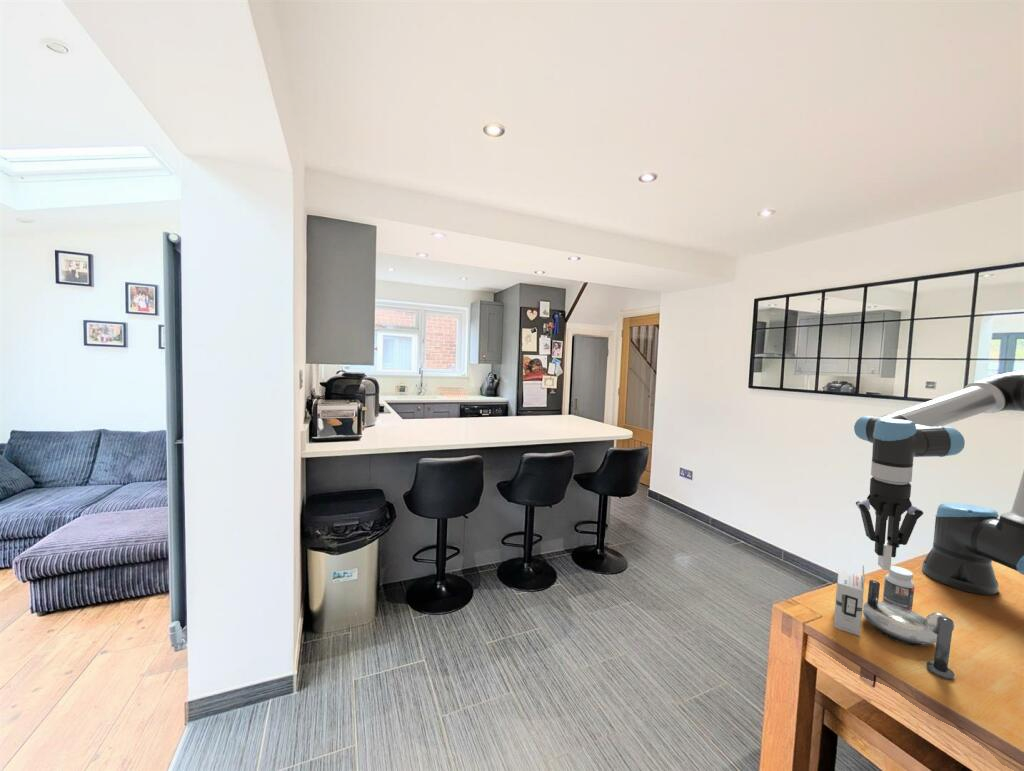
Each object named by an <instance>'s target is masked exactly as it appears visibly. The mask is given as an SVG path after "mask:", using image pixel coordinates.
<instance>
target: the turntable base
mask: <svg viewBox="0 0 1024 771" xmlns="http://www.w3.org/2000/svg"><path fill="white" fill-rule="evenodd" d="M872 625H873V624H872ZM873 627H874V628H875V629H876V631H878V632H879V633H880V634H883V635H884V636H886V637H887V638H888V639H889V638H890V639H892V640H893V641H895V642H898V643H901V644H904V645H909V646H915V647H916V646H918V647H919V646H923V645H924V644H920V643H914V642H910V641H907V640H903V639H900V638H898V637H895V636H893V635H891V634H888V633H886V632H884V631H882V630H881V629H879V628H877V627H876V626H874V625H873Z"/></svg>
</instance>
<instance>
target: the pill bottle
mask: <svg viewBox="0 0 1024 771" xmlns="http://www.w3.org/2000/svg"><path fill="white" fill-rule="evenodd" d="M887 572H888V573H887V574H885V576H884V582H883V584H884V585H883V593H882V602H885V603H890V604H893V605H897V606H900V607H903V608H905V609H908V610H910V611H912V609H913V604H914V595H915V583H914V581H913V578H914V574H913V572H912V571H911V570H909V569H907V568H904V567H902V566H896V565H891V570H887Z"/></svg>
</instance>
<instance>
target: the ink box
mask: <svg viewBox="0 0 1024 771" xmlns="http://www.w3.org/2000/svg"><path fill="white" fill-rule="evenodd" d="M837 572H838V573H837V579H836V580H837V582H836V591H835V592H836V594H835V604H834V605H835V607H834V624H833V625H834V628H835V629H838V630H841V631H844V632H847V633H850V634H852V635H856V636H859V637H860V636H861V627H862V624H861V623H862V616H863V615H862V614H863V605H864V603H863V602H864V592H865V580H866V579H865V566H864V565H862V572H861V573H862V575H860V574H858V573H853V572H850V571H847V570H843V569H838V571H837Z"/></svg>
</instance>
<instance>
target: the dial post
mask: <svg viewBox="0 0 1024 771" xmlns="http://www.w3.org/2000/svg"><path fill="white" fill-rule="evenodd" d="M925 619H926V620H925V623H926V626H927V627H928V628H929V629H930V630H931V631H933V632H934V633H935V634H937V640H936V642H935V650H934V658H933V659H934V660H933V661H932V660H931V661H927V662H926V669H927V670H928V671H929V672H930V673H931V674H933V675H934V676H936V677H939V678H941V679H943V680H947V681H953V680H954V679H955V672H954V671H953V670H952V669H951V668H949V662H950V661H949V660H950V655H951V654H950V652H951V644H952V634H953V631H954V629H955V623H954V621H953V619H951V618H950V617H948V616H947V615H946V614H944V613H942V612H932V613H929V614H928V615H927V616H926V617H925Z"/></svg>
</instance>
